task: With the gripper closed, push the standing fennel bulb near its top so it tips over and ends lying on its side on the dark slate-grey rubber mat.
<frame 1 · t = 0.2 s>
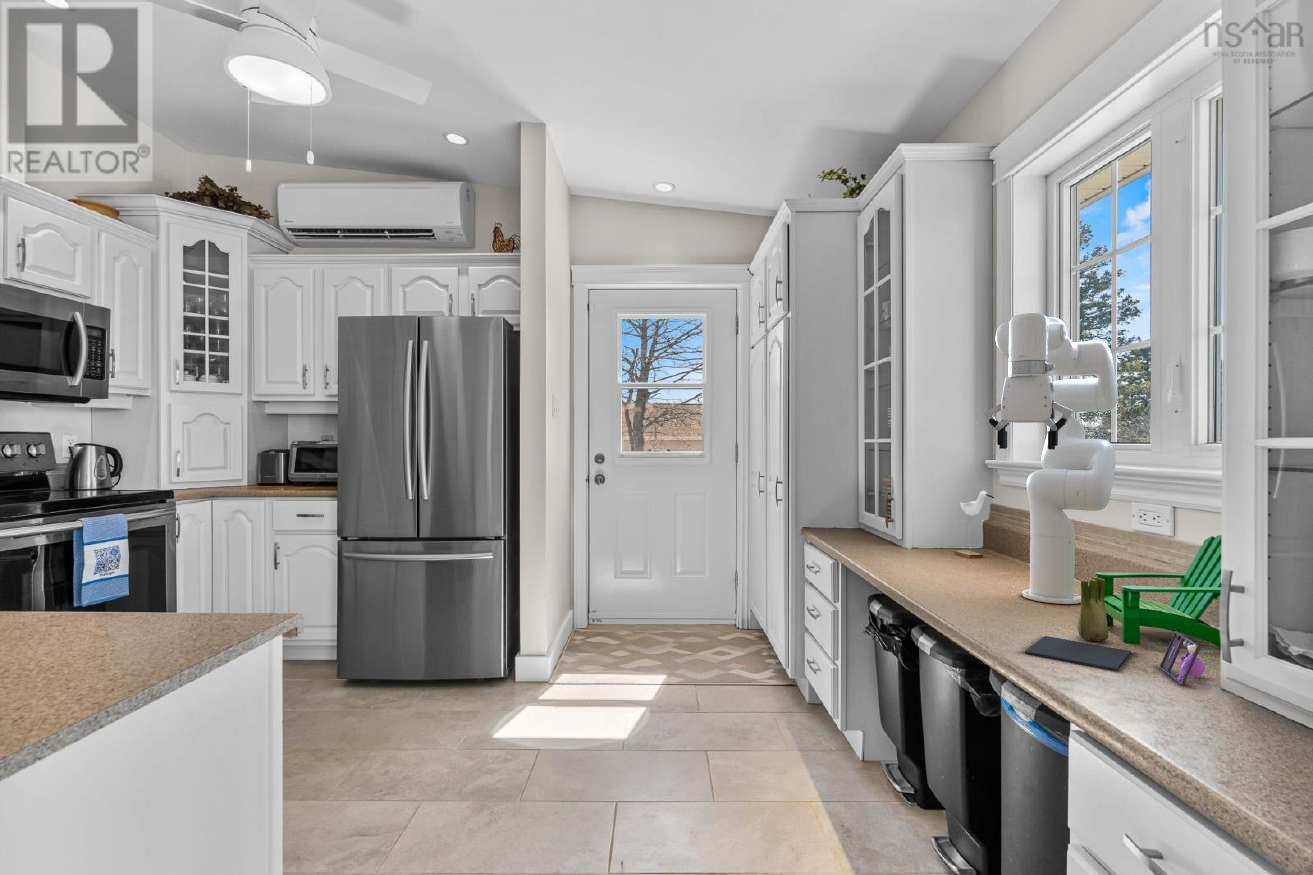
hand: (1026, 449, 154), 37 cm above the worktop, tool pointing down, fingers open, 9 cm apart
fennel bulb: (1092, 640, 136), on the worktop
mat: (1078, 653, 127), on the worktop
purple toy package: (1186, 679, 114), on the worktop
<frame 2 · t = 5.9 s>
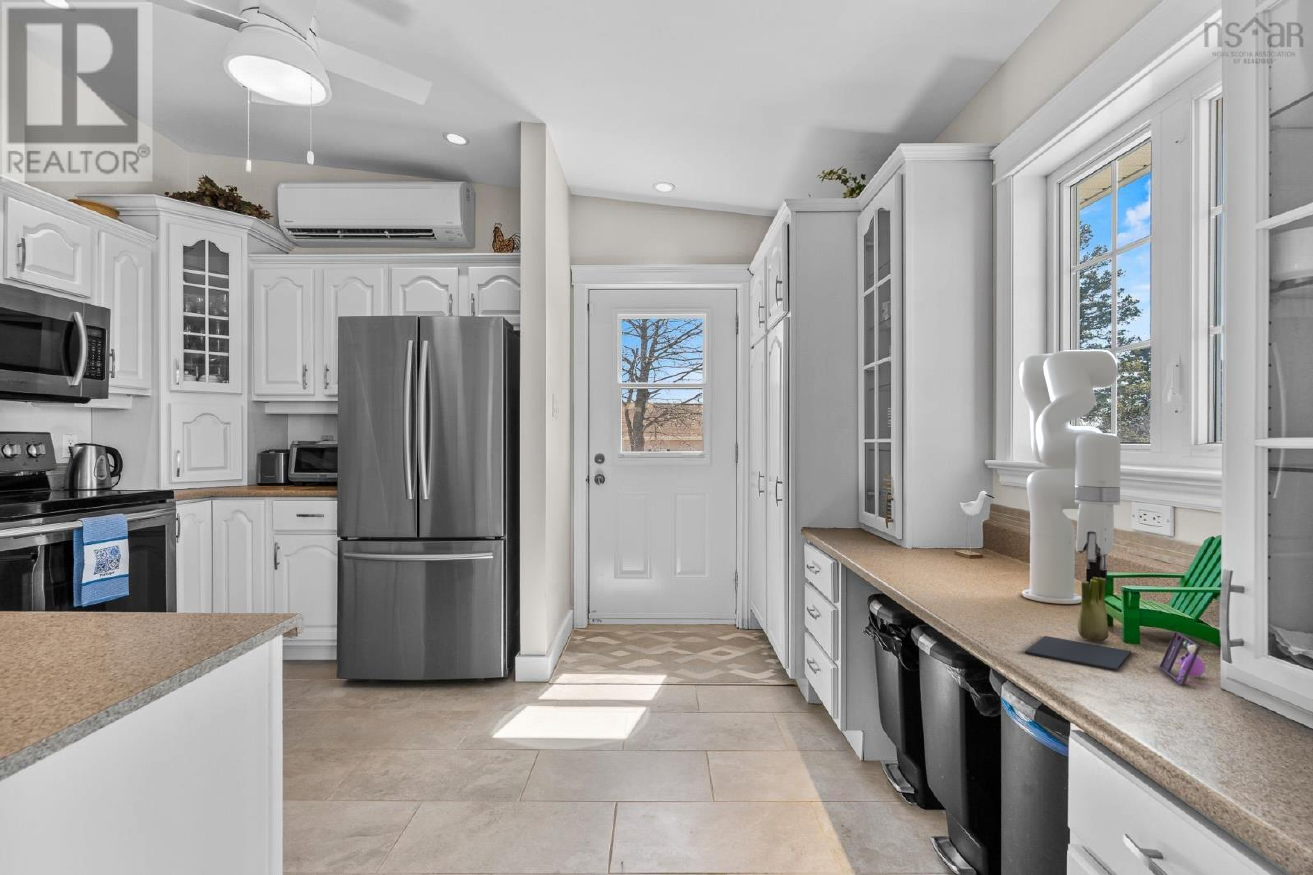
hand: (1096, 589, 138), 9 cm above the worktop, tool pointing down, fingers closed
fennel bulb: (1092, 639, 136), on the worktop, touching gripper
everything else where it was.
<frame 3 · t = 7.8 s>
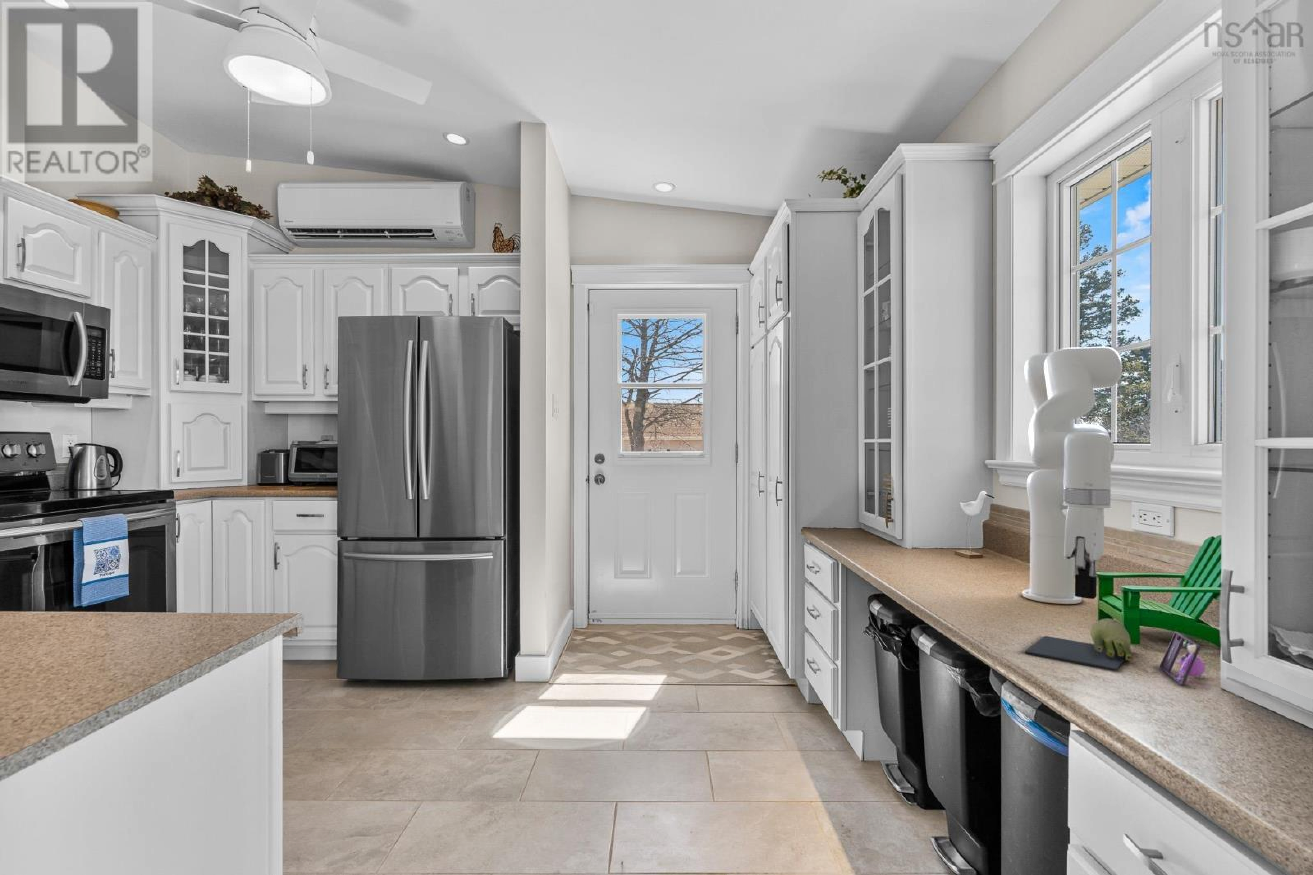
hand: (1085, 597, 131), 9 cm above the worktop, tool pointing down, fingers closed
fennel bulb: (1108, 627, 133), point 3 cm above the worktop, touching mat
everything else where it was.
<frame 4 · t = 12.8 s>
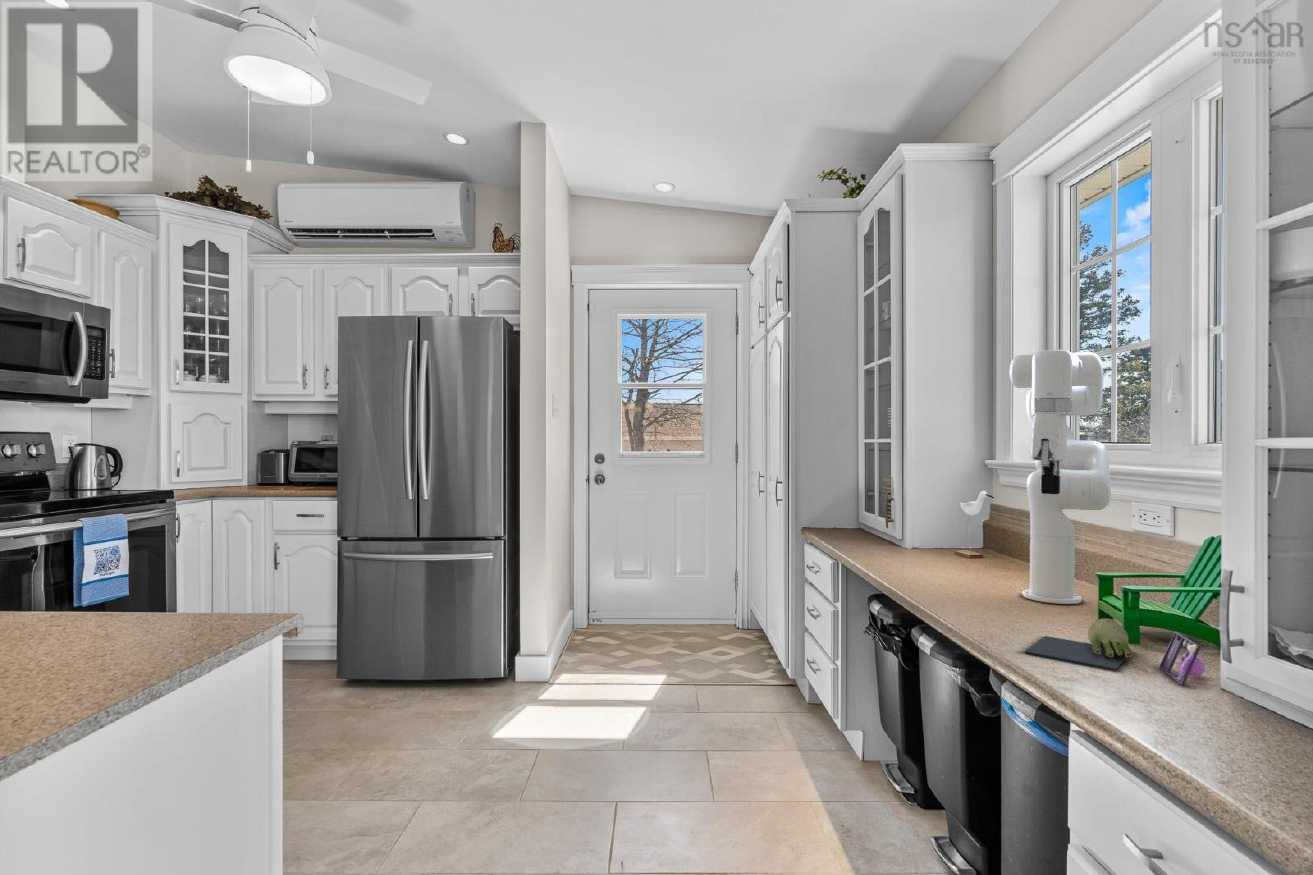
hand: (1050, 493, 151), 27 cm above the worktop, tool pointing down, fingers closed
nothing on the worktop moved.
at the end: fennel bulb tilted 98°; fennel bulb touching mat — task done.
